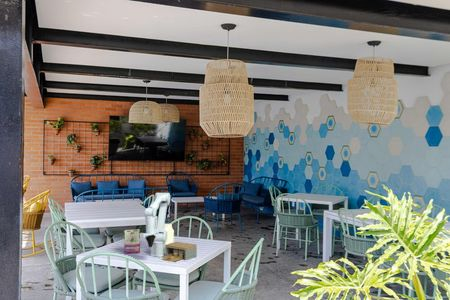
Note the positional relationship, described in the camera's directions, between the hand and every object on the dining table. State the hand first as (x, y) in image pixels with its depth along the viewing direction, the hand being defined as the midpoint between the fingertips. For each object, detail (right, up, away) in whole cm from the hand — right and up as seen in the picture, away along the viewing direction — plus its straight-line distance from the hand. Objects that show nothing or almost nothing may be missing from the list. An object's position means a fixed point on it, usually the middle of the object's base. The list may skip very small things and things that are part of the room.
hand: (150, 246), depth 276 cm
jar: (+3, -10, +55) cm, 56 cm away
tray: (+16, -10, +8) cm, 20 cm away
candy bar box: (-18, -10, +25) cm, 32 cm away
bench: (+19, -10, +13) cm, 25 cm away
